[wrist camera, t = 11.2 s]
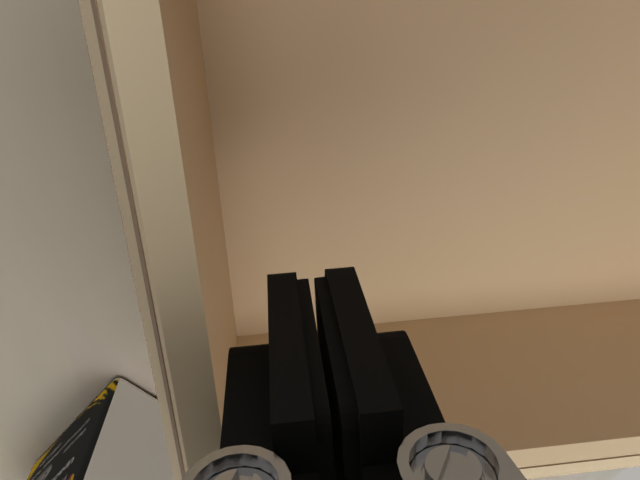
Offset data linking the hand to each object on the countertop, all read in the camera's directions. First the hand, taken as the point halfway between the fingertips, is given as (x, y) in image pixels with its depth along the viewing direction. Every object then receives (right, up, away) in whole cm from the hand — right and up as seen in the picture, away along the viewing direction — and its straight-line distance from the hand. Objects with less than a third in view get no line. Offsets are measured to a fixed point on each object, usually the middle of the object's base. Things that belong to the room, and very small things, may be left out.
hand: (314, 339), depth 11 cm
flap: (-4, +1, +3) cm, 6 cm away
